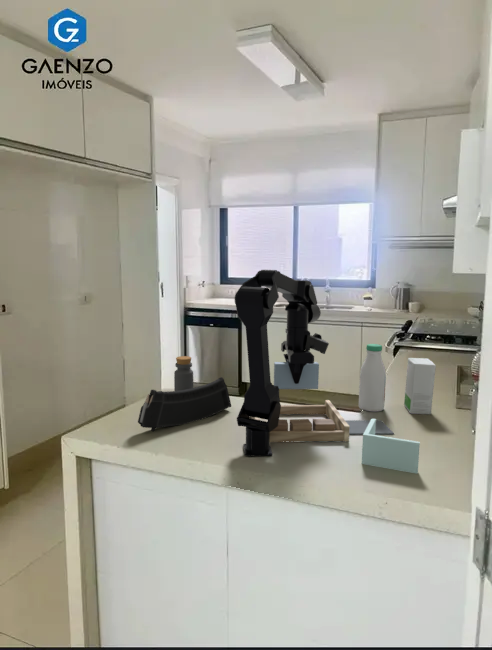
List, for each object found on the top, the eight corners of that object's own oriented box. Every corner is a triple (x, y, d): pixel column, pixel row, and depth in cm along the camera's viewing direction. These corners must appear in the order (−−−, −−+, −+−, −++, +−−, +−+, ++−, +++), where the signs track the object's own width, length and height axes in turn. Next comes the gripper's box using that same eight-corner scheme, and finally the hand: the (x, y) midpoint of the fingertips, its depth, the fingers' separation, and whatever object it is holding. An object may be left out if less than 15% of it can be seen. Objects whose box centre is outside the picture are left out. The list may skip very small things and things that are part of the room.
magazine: (230, 378, 148) (150, 364, 127) (237, 380, 146) (157, 366, 125) (218, 433, 147) (135, 428, 126) (225, 436, 145) (141, 431, 124)
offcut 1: (287, 439, 123) (288, 424, 122) (268, 439, 123) (268, 424, 122) (286, 434, 127) (286, 419, 126) (267, 433, 127) (267, 419, 126)
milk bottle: (383, 413, 144) (386, 348, 141) (356, 410, 147) (359, 346, 144) (385, 406, 151) (388, 343, 149) (360, 403, 154) (363, 341, 151)
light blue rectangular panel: (318, 388, 132) (319, 364, 131) (274, 389, 132) (275, 364, 131) (316, 386, 135) (317, 362, 134) (273, 386, 134) (274, 362, 133)
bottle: (188, 408, 147) (188, 360, 145) (171, 406, 149) (170, 358, 147) (196, 402, 152) (196, 356, 150) (179, 401, 154) (179, 355, 152)
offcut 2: (311, 439, 124) (312, 424, 123) (292, 439, 123) (293, 424, 123) (307, 433, 128) (308, 418, 127) (289, 434, 127) (289, 419, 126)
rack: (348, 441, 122) (349, 426, 121) (256, 442, 121) (257, 427, 120) (328, 413, 144) (329, 400, 144) (250, 413, 143) (250, 400, 142)
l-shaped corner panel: (417, 476, 104) (419, 443, 103) (361, 466, 109) (362, 434, 108) (421, 455, 115) (423, 425, 114) (370, 447, 120) (371, 418, 119)
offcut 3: (334, 439, 124) (335, 424, 123) (315, 439, 124) (315, 424, 123) (330, 433, 128) (331, 418, 127) (312, 433, 128) (312, 419, 127)
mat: (393, 434, 127) (393, 432, 127) (345, 434, 127) (345, 433, 126) (381, 421, 137) (381, 420, 137) (336, 421, 136) (336, 420, 136)
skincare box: (403, 405, 152) (406, 357, 150) (425, 406, 152) (428, 357, 150) (410, 414, 144) (413, 363, 142) (433, 414, 144) (436, 363, 141)
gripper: (334, 331, 122) (332, 391, 124) (319, 321, 141) (317, 373, 143) (291, 331, 121) (289, 391, 124) (281, 321, 140) (280, 374, 142)
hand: (295, 382), depth 133 cm, fingers closed on light blue rectangular panel, 2 cm apart
